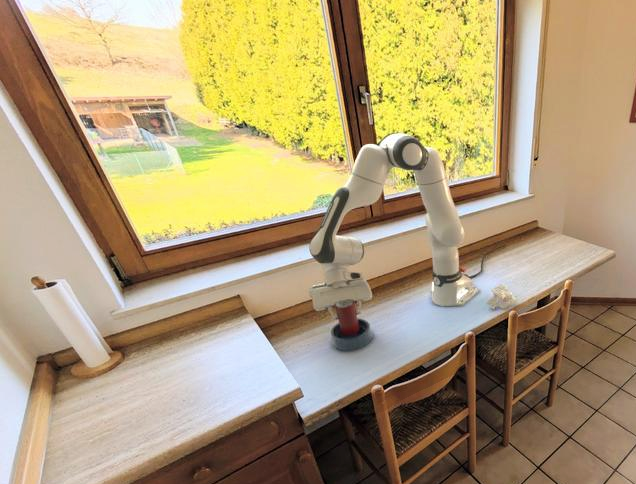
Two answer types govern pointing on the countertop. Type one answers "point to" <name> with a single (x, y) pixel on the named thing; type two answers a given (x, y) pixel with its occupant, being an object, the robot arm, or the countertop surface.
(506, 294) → the white irregular lump
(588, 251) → the countertop surface
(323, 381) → the countertop surface
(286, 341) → the countertop surface
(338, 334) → the bowl
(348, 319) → the can
